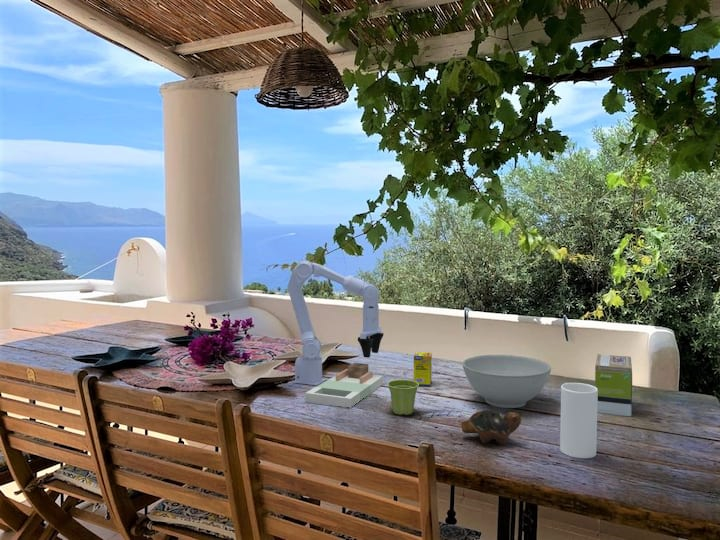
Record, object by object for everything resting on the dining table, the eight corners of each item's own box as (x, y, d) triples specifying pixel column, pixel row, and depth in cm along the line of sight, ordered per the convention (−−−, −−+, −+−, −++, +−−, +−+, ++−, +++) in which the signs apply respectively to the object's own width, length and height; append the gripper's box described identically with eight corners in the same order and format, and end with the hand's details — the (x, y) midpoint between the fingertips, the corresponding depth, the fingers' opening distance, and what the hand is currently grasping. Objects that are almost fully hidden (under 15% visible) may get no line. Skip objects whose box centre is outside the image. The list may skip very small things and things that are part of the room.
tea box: (596, 398, 171) (597, 352, 170) (630, 402, 167) (632, 355, 166) (593, 412, 158) (595, 363, 157) (631, 417, 153) (633, 367, 152)
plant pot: (401, 404, 166) (401, 377, 166) (425, 411, 160) (425, 383, 159) (381, 412, 160) (380, 383, 159) (404, 419, 153) (404, 390, 153)
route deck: (305, 402, 170) (305, 386, 170) (342, 379, 195) (342, 366, 195) (350, 408, 163) (350, 392, 163) (383, 384, 189) (383, 370, 189)
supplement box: (430, 387, 185) (430, 356, 184) (413, 386, 186) (413, 355, 185) (431, 382, 191) (431, 352, 190) (415, 381, 192) (415, 351, 191)
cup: (554, 445, 134) (555, 383, 133) (585, 443, 135) (586, 382, 133) (569, 459, 126) (571, 393, 125) (603, 457, 126) (604, 391, 125)
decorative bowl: (564, 400, 169) (565, 363, 168) (526, 423, 149) (526, 381, 148) (489, 384, 187) (489, 350, 186) (446, 403, 168) (446, 365, 167)
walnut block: (348, 377, 187) (347, 366, 187) (354, 373, 192) (354, 362, 192) (362, 379, 185) (362, 367, 184) (368, 375, 190) (368, 364, 190)
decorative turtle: (524, 449, 132) (522, 418, 131) (462, 449, 134) (460, 419, 134) (519, 432, 141) (517, 403, 140) (461, 433, 144) (459, 404, 143)
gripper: (373, 321, 184) (373, 360, 185) (388, 315, 197) (388, 351, 198) (354, 320, 187) (354, 358, 188) (370, 314, 200) (371, 350, 201)
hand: (370, 354), depth 193 cm, fingers open, 7 cm apart
